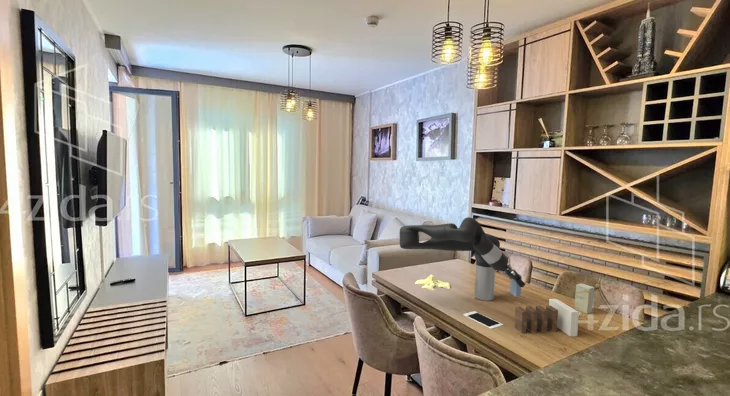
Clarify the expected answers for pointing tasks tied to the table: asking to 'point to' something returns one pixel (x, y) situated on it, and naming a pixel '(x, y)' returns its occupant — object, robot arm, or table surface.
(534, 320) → the walnut domino
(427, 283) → the cloth
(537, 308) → the walnut domino
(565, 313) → the block
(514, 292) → the slate domino
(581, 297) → the skincare box
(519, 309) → the walnut domino
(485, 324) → the cell phone
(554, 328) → the walnut domino
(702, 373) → the table surface
